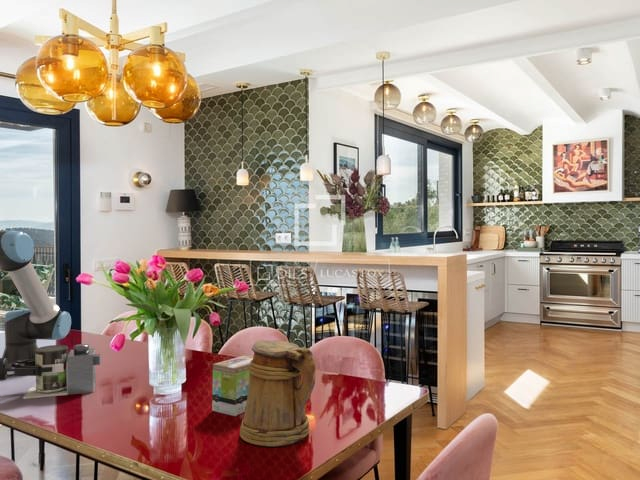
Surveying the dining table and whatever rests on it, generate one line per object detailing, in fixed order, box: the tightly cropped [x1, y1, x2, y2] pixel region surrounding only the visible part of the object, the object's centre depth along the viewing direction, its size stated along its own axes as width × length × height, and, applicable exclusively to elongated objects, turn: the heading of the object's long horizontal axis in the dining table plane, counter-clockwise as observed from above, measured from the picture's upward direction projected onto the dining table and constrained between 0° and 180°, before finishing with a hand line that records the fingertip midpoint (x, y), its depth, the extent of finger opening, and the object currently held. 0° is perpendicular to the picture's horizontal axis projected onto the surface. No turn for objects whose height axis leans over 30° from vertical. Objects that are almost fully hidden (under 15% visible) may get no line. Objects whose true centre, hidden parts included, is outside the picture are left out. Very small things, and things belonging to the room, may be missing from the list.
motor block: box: [66, 343, 101, 396], centre depth 191 cm, size 12×10×15 cm
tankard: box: [239, 339, 317, 448], centre depth 144 cm, size 18×24×25 cm
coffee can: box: [35, 344, 69, 393], centre depth 187 cm, size 10×10×14 cm
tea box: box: [211, 355, 254, 417], centre depth 169 cm, size 15×10×15 cm, turn 148°
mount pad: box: [23, 386, 68, 400], centre depth 187 cm, size 12×14×1 cm
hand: (65, 364), depth 189 cm, fingers open, 10 cm apart
